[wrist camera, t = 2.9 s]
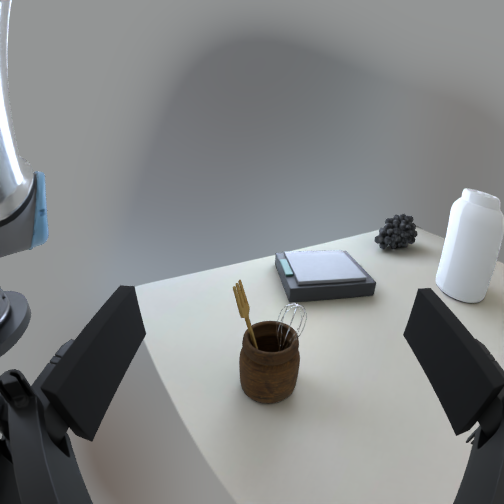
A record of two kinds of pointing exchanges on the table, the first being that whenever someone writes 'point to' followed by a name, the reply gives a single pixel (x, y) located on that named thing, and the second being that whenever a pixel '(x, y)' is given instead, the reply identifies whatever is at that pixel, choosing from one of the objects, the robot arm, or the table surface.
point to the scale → (322, 275)
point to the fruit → (397, 232)
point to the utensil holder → (267, 355)
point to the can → (471, 246)
